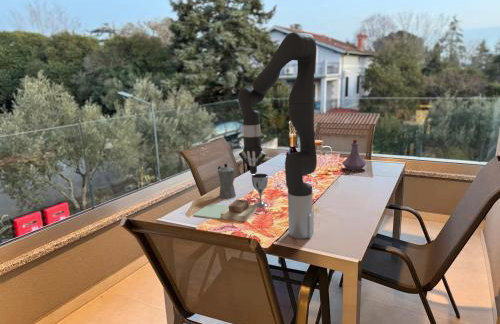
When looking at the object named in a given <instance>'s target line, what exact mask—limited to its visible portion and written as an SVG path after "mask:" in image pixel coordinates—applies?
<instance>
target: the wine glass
mask: <svg viewBox="0 0 500 324" xmlns="http://www.w3.org/2000/svg"><path fill="white" fill-rule="evenodd" d="M268 182H269V175H268V173H256V174H251V183H252V186H253V188H254V189H255V191H256V192H257V194H258V196H259V201H258V202H255V203H253V205H257V208H264V207H266V206H268V205H269V204H268V203H267V202H265V201H262V194H263V192H264V191H265V189H266V188H268V187H267V186H268Z"/></svg>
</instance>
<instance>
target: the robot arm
mask: <svg viewBox="0 0 500 324" xmlns="http://www.w3.org/2000/svg"><path fill="white" fill-rule="evenodd" d="M316 57H317V42H316V39H315V37H314V36H313V35H312V34H311V33H308V32H297V31H296V32H295V31H294V32H293V31H292V32H290V33H288V34H287V35H285V37H284V38H283V39H282V41H281V43H280V44H279V46H278V47H277V48H276V51H275V52H274V54H273V55H272V57H271V58H270V60H269V61H268V64H267V65H266V66H265V67H264V69H262V70H261V72H260V73H259V74H258V75H257V76H256V77H255V78H254V79H253V81H252V87H242V88H241V89H240V90H239V92H238V94H237V95H238V96H237V99H238V104H239V107H240V111H241V113H242V120H243V121H242V122H243V127H242V135H243V149H242V151H241V152H239V153H238V156H239V157H240V158H241V160H242V161H243V162H244V164H245V165H248V166H249V173H250V174H251V175H253V174H257V172H258V166H259V165H260V164H262V162H263V161H264V160H265V158H266V157H268V156H267V155H268V154H267V152H264V151H263V148H262V137H261V135H262V131H261V122H260V119H261V118H260V112H259V111H258V110H256V109H253V107H252V105H258V104H261V102H263V101H264V98H265V97H266V95H267V93H268V91H269V90H271V88H272V87H274V86H275V84H277V82H278V80H279V78H280V75H281V71H282V70H283V68H285V66H286V65H287V64H289V63H290V62H292V61H297V73H296V78H295V81H294V84H293V86H292V88H291V90H290V93H289V95H288V96H289V97H288V117H289V120H290V122H291V124H292V126H293V128H294V129H295V131H296V133H297V136H298V138H299V147H300V148H299V149H300V150H299V151H296V152H291V153H288V154H287V155H286V156H285V161H284V171H285V183H286V184H285V185H286V188H287V198H288V199H287V206H288V207H287V208H288V209H287V211H288V236H290V237H291V238H292V239H293V238H294V239H301V240H304V239H311V238H312V235H313V234H314V227H315V226H314V225H315V223H314V218H315V217H314V209H313V186H312V185H311V184H310V183H307V182H304V178H303V177H304V176H307V175H311V174H313V173H314V172H315V171H316V169H317V164H318V162H317V161H318V160H317V159H318V157H317V148H316V141H315V140H316V139H315V92H314V91H315V69H316V68H315V67H316ZM259 157H260V158H259Z"/></svg>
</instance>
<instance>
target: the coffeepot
mask: <svg viewBox="0 0 500 324" xmlns="http://www.w3.org/2000/svg"><path fill="white" fill-rule="evenodd" d="M223 165H224V166H221V165H219V166H218V167H217V173H218V174H217V175H218V177H219V182H220V184H219V199H220V198H221V199H223V200H224V199H227V200H229V199H233V198H235V197H236V196H237V195H236V191H235V185H234V180H235V168H234V167H228V164H227V163H224V164H223Z"/></svg>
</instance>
